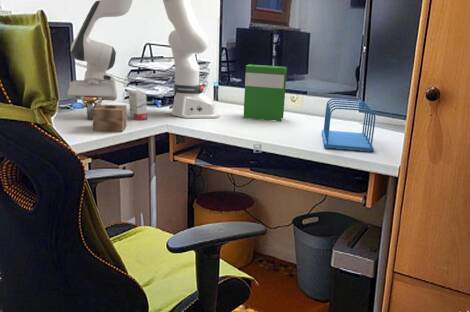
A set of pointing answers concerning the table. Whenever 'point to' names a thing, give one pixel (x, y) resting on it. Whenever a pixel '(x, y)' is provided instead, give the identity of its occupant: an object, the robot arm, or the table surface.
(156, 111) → the table surface
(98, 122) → the block
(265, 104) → the green cereal box
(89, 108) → the pin
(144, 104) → the ink box
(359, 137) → the file sorter
